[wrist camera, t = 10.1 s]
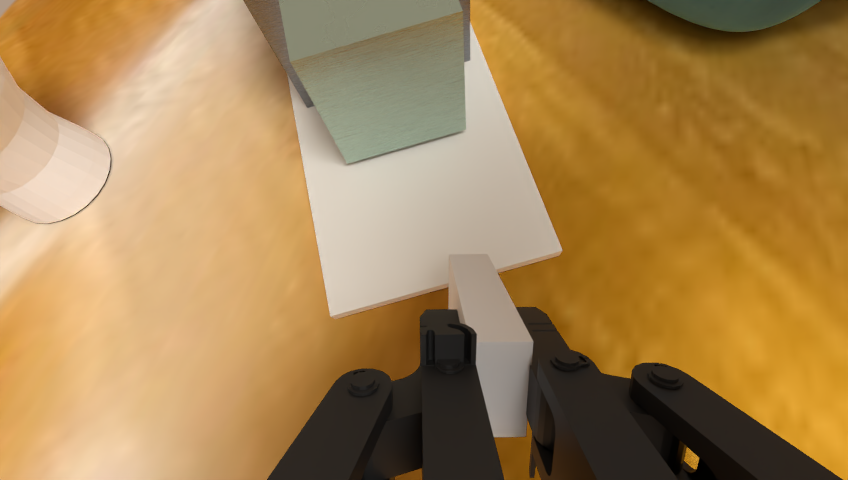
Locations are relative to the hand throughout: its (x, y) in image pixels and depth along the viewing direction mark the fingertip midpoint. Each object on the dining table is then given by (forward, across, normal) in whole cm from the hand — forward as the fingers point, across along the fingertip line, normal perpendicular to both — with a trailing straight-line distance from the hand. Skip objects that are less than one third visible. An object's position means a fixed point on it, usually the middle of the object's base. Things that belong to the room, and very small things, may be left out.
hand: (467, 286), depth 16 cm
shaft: (+18, +5, -11) cm, 22 cm away
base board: (+16, +3, -6) cm, 17 cm away
